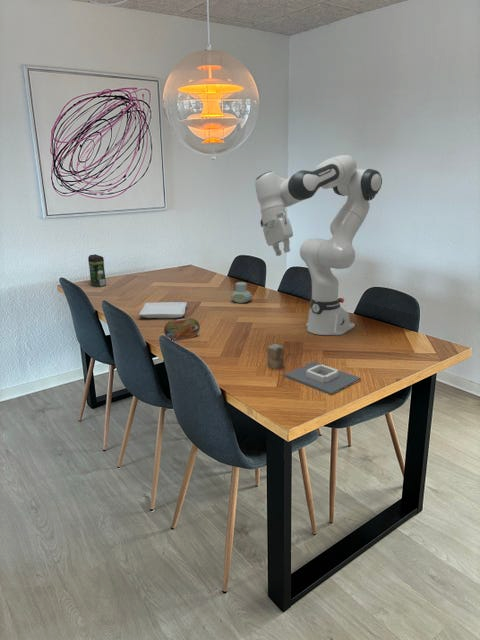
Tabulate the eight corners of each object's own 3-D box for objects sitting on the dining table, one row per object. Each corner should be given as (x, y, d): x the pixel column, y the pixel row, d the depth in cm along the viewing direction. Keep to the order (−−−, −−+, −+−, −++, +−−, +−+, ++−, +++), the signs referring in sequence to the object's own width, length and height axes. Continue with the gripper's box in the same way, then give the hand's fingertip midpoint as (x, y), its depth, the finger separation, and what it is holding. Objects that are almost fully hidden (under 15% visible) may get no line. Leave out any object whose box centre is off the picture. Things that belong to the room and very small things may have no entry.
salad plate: (187, 307, 253) (187, 301, 252) (184, 320, 233) (184, 313, 232) (145, 308, 253) (145, 302, 252) (139, 321, 232) (138, 314, 231)
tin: (166, 342, 204) (164, 322, 202) (163, 340, 207) (162, 320, 204) (200, 336, 210) (199, 317, 208) (197, 334, 213) (196, 315, 210)
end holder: (314, 363, 181) (314, 356, 180) (360, 380, 167) (361, 372, 166) (284, 376, 170) (284, 368, 170) (331, 395, 156) (331, 387, 155)
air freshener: (229, 303, 259) (228, 284, 256) (233, 299, 266) (232, 280, 263) (249, 304, 256) (249, 285, 253) (253, 300, 264) (253, 281, 261)
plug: (275, 363, 181) (275, 342, 179) (283, 366, 178) (283, 345, 176) (267, 366, 179) (267, 345, 176) (275, 369, 176) (275, 348, 173)
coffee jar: (89, 285, 301) (85, 254, 295) (101, 283, 306) (98, 253, 300) (95, 288, 294) (92, 256, 288) (108, 285, 299) (105, 255, 293)
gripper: (292, 209, 173) (301, 248, 173) (273, 220, 192) (282, 255, 193) (275, 212, 171) (284, 251, 172) (258, 223, 191) (267, 259, 192)
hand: (283, 253), depth 183 cm, fingers open, 8 cm apart
